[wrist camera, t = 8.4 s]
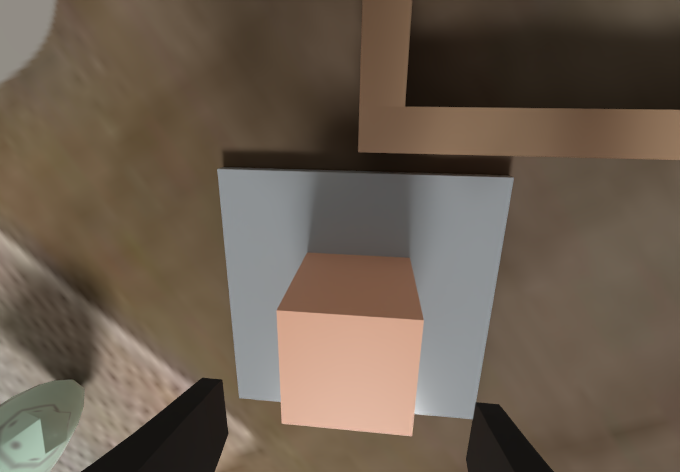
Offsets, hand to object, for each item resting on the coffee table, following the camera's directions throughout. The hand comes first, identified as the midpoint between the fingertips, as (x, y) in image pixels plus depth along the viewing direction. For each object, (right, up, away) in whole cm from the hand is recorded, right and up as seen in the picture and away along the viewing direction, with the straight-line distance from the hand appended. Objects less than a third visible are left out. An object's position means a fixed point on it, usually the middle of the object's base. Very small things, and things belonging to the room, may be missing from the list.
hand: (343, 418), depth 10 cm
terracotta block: (+1, +2, +6) cm, 7 cm away
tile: (+1, +2, +7) cm, 7 cm away
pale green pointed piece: (-15, -4, +11) cm, 19 cm away
